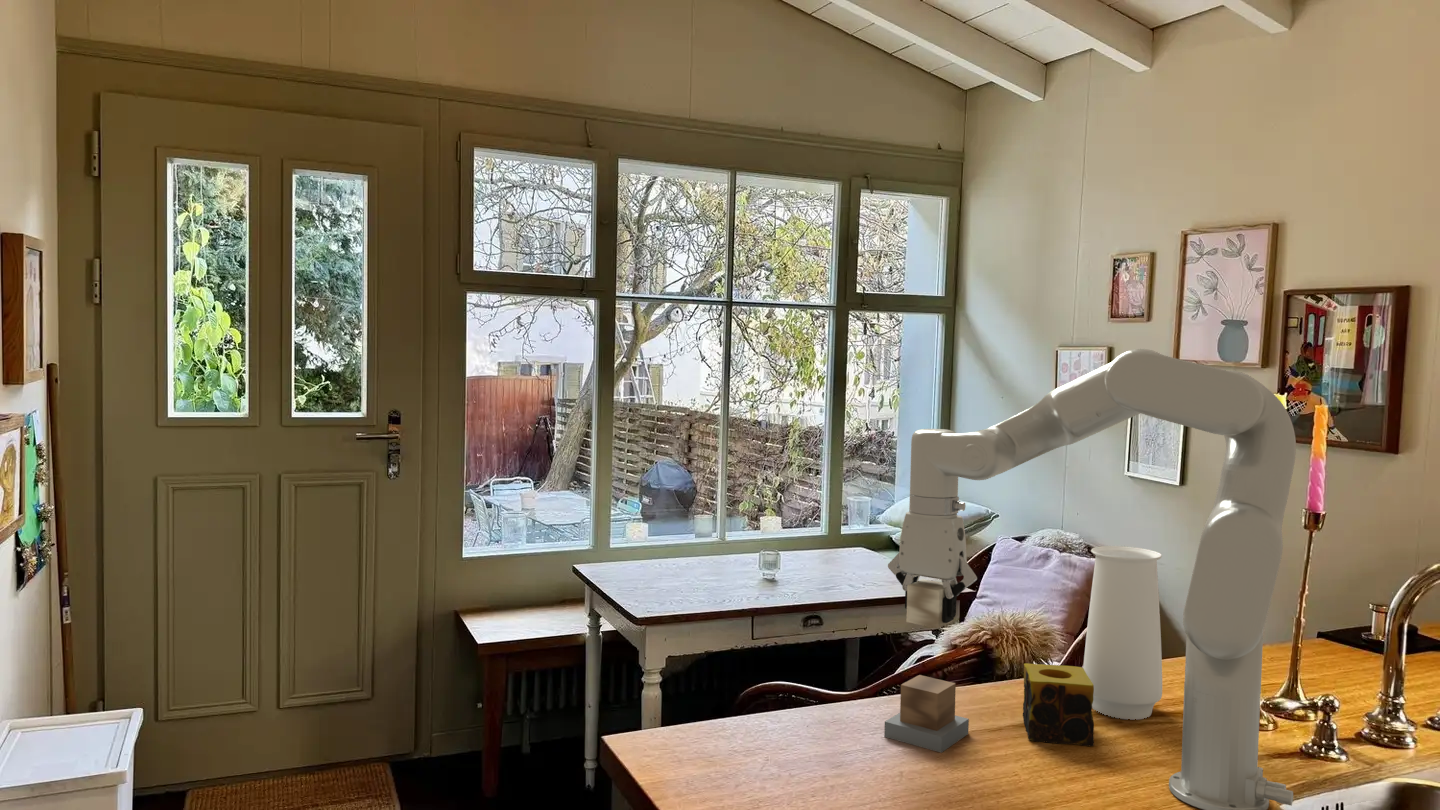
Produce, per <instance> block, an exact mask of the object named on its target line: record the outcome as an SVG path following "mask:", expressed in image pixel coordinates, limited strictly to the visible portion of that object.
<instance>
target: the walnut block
mask: <svg viewBox="0 0 1440 810" xmlns="http://www.w3.org/2000/svg"><path fill="white" fill-rule="evenodd" d="M956 686H957V685H956V682H952V681H946V680H943V679H938V678H935V677H931V676H930V677H929V676H926V675H922V674H919V675H916V676H914V677H913V678H911V679H909V680H907V681H905V682H903V683H902V684H900V704H899V708H900V709H899V710H900V711H899V713H900V721H901V722H905V723H909V724H912V725H916V726H920V727H924V728H927V729H931V730H935V731H938V730H939V729H941V728H942V727H944V726H945V725H947V724H949V723H950V722H952V721H953V720H955V715H956V691H957V690H956Z"/></svg>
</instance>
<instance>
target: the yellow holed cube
mask: <svg viewBox="0 0 1440 810" xmlns="http://www.w3.org/2000/svg"><path fill="white" fill-rule="evenodd" d="M1093 693H1094V685H1093V683H1092V682H1091V680H1090V679H1089V677H1088V676H1087V674H1086V672H1085V670H1084V668H1083V666H1082V667H1081V666H1074V665H1062V664H1061V665H1059V664H1058V665H1057V664H1044V663H1043V664H1042V663H1041V664H1040V663H1028V662H1027V663H1023V703H1022V711H1023V712H1022V718H1023V725H1024V728H1025V731H1026V734H1027V739H1028V740H1029V741H1033V742H1037V743H1038V742H1039V743H1047V744H1049V743H1050V744H1061V745H1062V744H1063V745H1069V744H1070V745H1071V744H1072V745H1078V746H1086V747H1093V746H1094V745H1095V744H1094V741H1095V740H1094V734H1095V733H1094V732H1095V731H1094V730H1095V723H1094V722H1095V720H1094V717H1093V716H1094V715H1093V708H1092V703H1093Z"/></svg>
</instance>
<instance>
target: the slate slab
mask: <svg viewBox="0 0 1440 810" xmlns="http://www.w3.org/2000/svg"><path fill="white" fill-rule="evenodd" d="M969 723H970V719H969V718H967V717H963V716H959V715H956V714H955V720H953V721H952V722H950V723H949V724H947V725H945V726H944V727H942V728H941V729H939V730H938V731H935V730H931V729H927V728H924V727H920V726H916V725H912V724H909V723H905V722H901V721H900V712H899V713H897V714H895V715H894V716H891V717H889V718H888V719H887V720H885V721H884V731H883V732H884V734H883V736H884V737H883V738H888V739H891V740H894V741H899V742H903V743H906V744H909V745H912V746H915V747H916V746H917V747H920V748H924V749H927V750H931V751H934V752H938V753H941V754H942V753H943V752H945V751H946V750H947V749H949V748H950V747H952V746H953V745H955V744H956V743H957V742H959V741H961V739H963V738H964V737H966V736H967V735H969V725H970V724H969Z"/></svg>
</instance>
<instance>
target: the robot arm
mask: <svg viewBox="0 0 1440 810" xmlns="http://www.w3.org/2000/svg"><path fill="white" fill-rule="evenodd" d="M1140 414H1143V415H1144V416H1149V417H1152V418H1155V419H1159V420H1162V421H1166V422H1170V423H1173V424H1176V425H1181V426H1184V427H1188V428H1192V429H1195V430H1199V431H1203V432H1205V433H1210V434H1214V435H1218V436H1219V435H1220V436H1223V437H1224V439H1225V453H1224V458H1223V463H1222V467H1221V472H1220V478H1219V483H1218V487H1217V491H1216V495H1215V499H1214V503H1213V507H1212V508H1211V509H1212V510H1211V512H1210V514H1209V516H1208V518H1207V519H1206V522H1205V524H1204V527H1203V529H1202V532H1201V535H1200V539H1199V544H1198V548H1197V553H1196V557H1195V562H1194V567H1193V571H1192V574H1191V580H1190V583H1189V587H1188V592H1187V597H1186V600H1185V603H1184V608H1183V612H1182V624H1183V628H1184V631H1185V634H1186V643H1185V644H1186V645H1185V666H1184V682H1183V683H1184V685H1183V709H1182V710H1183V712H1182V714H1183V717H1182V740H1181V743H1182V744H1181V767H1180V769H1181V770H1180V771H1178V772H1175V773H1174V774H1172V775H1171V776H1169V779H1168V788H1169V791H1170V792H1171V794H1173V795H1174V797H1176V798H1177V799H1178V800H1180V801H1182V802H1184V803H1186V804H1188V805H1190V806H1192V807H1195V808H1198V809H1200V810H1268V809H1269V807H1270V801H1274V802H1276V803H1279V804H1282V805H1286V806H1290V807H1291V806H1293V803H1294V801H1293V800H1294V791H1293V790H1289V789H1287V785H1286V784H1284V783H1280V782H1276V781H1275V782H1274V781H1271V780H1268V778H1267V777H1264V768H1263V767H1260V766H1258V765H1259V764H1258V763H1259V762H1258V760H1259V741H1260V740H1259V738H1260V737H1259V736H1260V711H1261V694H1262V673H1263V671H1262V668H1263V641H1264V630H1265V626H1266V623H1267V618H1268V614H1269V610H1270V606H1271V604H1272V598H1273V595H1274V590H1275V587H1276V583H1277V578H1278V574H1279V570H1280V566H1281V562H1282V555H1283V547H1284V542H1283V541H1284V540H1283V539H1284V538H1283V522H1284V517H1285V511H1286V508H1287V503H1288V499H1289V494H1290V488H1291V484H1292V483H1291V482H1292V477H1293V473H1294V468H1295V462H1296V454H1297V442H1296V433H1295V430H1294V424H1293V422H1292V419H1291V417H1290V414H1289V413H1288V411H1287V409H1286V407H1285V405H1284V404H1283V403H1282V401H1281V400H1280V399H1279V398H1278V397H1277V396H1276V395H1275V393H1273V392H1272V391H1271V390H1270V389H1269V388H1268V387H1267V386H1265V385H1264V384H1262V383H1261V382H1260V381H1259V380H1257V379H1255V378H1254V377H1252V376H1251V375H1249V374H1247V373H1244V372H1240V371H1236V370H1226V369H1221V368H1218V367H1217V368H1216V367H1212V366H1210V365H1209V366H1208V365H1204V364H1200V363H1196V362H1192V361H1187V360H1182V359H1180V358H1175V357H1171V356H1169V355H1164V354H1162V353H1160V352H1158V351H1155V350H1152V349H1145V348H1134V349H1130V350H1127V351H1124V352H1122V353H1120V354H1119V355H1117V356H1116V357H1115V358H1114V359H1113V360H1111V362H1109V363H1106V364H1104V365H1102V366H1099V367H1098V368H1097V369H1094V370H1091V371H1090V372H1088V373H1086V374H1084V375H1081V376H1079V377H1077V378H1075V379H1073V380H1071V381H1070V382H1067V383H1065V384H1063V385H1061V386H1058V387H1056V388H1055V389H1052V390H1051V391H1049V392H1048V393H1046V395H1044V397H1042V398H1041V400H1039V401H1038V402H1036V403H1035V404H1034V405H1032V406H1030V407H1029V408H1027V409H1025V410H1024V411H1021V412H1019V413H1017V414H1016V415H1013V416H1011V417H1010V418H1007V419H1005V420H1003V421H1001V422H999V423H996V424H994V425H991V426H989V427H988V428H985V429H979V430H977V431H971V432H962V433H960V432H959V433H957V432H955V431H954V430H952V429H951V430H950V429H944V428H922V429H921V428H920V429H917V430H915V431H914V432H913V433H912V436H911V439H910V440H911V441H910V443H911V444H910V447H911V448H910V475H909V476H910V477H909V478H910V482H909V506H908V507H909V508H908V509H909V511H907V512H905V515H904V519H903V523H902V528H901V533H900V541H899V551H898V553H897V554H896V555H895V557H893V559H891V561H890V562H889V563H888V564H887V567H888V569H889V570H890V572H891V573H892V574H893V575H894V576H895V577H896V579H897V581H898V583H900V585H901V587H902V590H903V591H904V595H905V596H904V608H905V609H906V613H905V614H906V616H907V585H909V584H912V583H914V582H917V581H919V580H920V578H921V577H925V578H930V579H935V580H936V579H937V580H941V582H942V584H943V587H944V591H945V598H943V605H942V622H943V623H948V622H950V621H952V620H953V621H954V620H955V619H954V618H956V616H957V598H958V596H959V595H960V594H961V593H962V592H964V591H965V590H966V589H967V588H968V587H970V586H971V585H972V584H974V583H975V582H976V581H977V580H978V576H977V575H976V573H975V572H974V570H973V569H972V568H971V566H970V565H969V564H968V561H967V560H968V559H967V556H968V555H967V554H968V553H967V540H966V539H967V537H966V532H965V530H966V529H965V524H964V519H963V516H961V515H958V514H959V512H960V511H963V512H964V511H965V510H966V502H964V501H963V502H962V501H960V500H959V499H960V497H959V478H962V479H967V480H970V481H986V480H989V479H991V478H993V477H995V476H998V475H1000V474H1003V473H1005V472H1007V471H1009V470H1012V469H1014V468H1017V467H1018V466H1020V465H1023V464H1025V463H1027V462H1030V461H1031V460H1033V459H1036V458H1038V457H1040V456H1042V455H1045V454H1047V453H1048V452H1051V451H1054V450H1056V449H1059V448H1061V447H1064V446H1065V447H1066V446H1071V445H1073V444H1075V443H1078V442H1081V441H1082V440H1084V439H1086V438H1089V437H1091V436H1094V435H1096V434H1097V433H1100V432H1102V431H1104V430H1106V429H1109V428H1111V427H1113V426H1115V425H1118V424H1120V423H1122V422H1124V421H1126V420H1129V419H1131V418H1133V417H1136V416H1137V415H1140ZM962 576H963V579H962V580H961V581H959V582H958V580H957V577H962ZM953 621H952V622H953ZM950 623H951V622H950ZM948 624H949V623H948Z"/></svg>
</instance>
